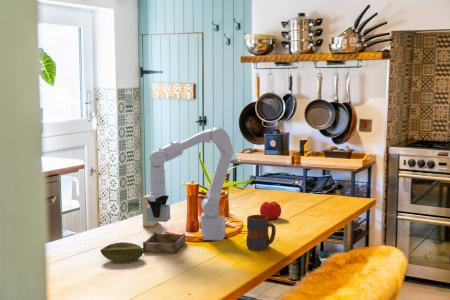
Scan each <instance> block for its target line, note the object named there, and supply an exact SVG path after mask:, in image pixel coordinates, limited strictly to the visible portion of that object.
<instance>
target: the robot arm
mask: <svg viewBox="0 0 450 300" xmlns="http://www.w3.org/2000/svg"><path fill="white" fill-rule="evenodd" d="M202 143H207V144H208V143H209V144H211V143H213V144H215V145H216V147H217V149H218V150H219V155H218V158H217V162H216V164H215V168H214V172H213V174H212V175H213V176H212V178H211V181H210V184H209V189H207V192H206V194H205V196H204V198H203V199H202V200H201V203H200V207H201V209H202V212H201V215H200V224H201V225H200V227H201V229H200V233H201V234H200V236H201V235H202V236H203V237H204V239H202V240H201V241H223V240H224V238H225V237H226V236H225V234H226V218H225V216H221V215H220V213H219V212H220V200H221V194H222V190H223V186H224V183H225V180H226V177H227V174H228V170H229V168H230V164H231V161H232V158H233V154H234V148H233V145H232V141H231V137H230V135H229V134H228V132H227V131H226V129H224V128H222V127H220V126H213V127H211V128H207V129H205V130H202V131H200V132H197V133H196V134H194V135H193V136H191V137H188V138H187V139H185V140H183V141H181V142H180V141H176V140H175V141H170V142H169V144H168V145H167V144H166V145H165V146H163V147H161V146H160V147H158V149H156V150H153V151H151V153H150V154H149V162H150V165H149V166H150V167H149V169H150V170H149V177H150V178H149V179H150V180H149V181H150V191H148V192H147V194H148V195H150V199H149V200H148V203H149V205H150V207H151V209H152V213H153V216H154V218H159V217H160V209H161V205H167V202H168V200H169V195H167V189H166V169H165V163H166V162H170V161H172V160H174V159H176V158H178V157H180V156H182V155H183V153H184V151H185V150H187V149H190V148H192V147H193V146H194V147H195V146H196V145H198V144H202Z"/></svg>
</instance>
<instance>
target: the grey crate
mask: <svg viewBox="0 0 450 300" xmlns="http://www.w3.org/2000/svg"><path fill="white" fill-rule="evenodd" d="M146 214H147V221H156V222H158V223H167V222H169V220H170V219H171V205H170V204H166V205H161V209H160V217H159V218H154V216H153V213H152V209H151V207H150V205H149V206H147V207H146Z"/></svg>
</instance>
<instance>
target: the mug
mask: <svg viewBox="0 0 450 300" xmlns="http://www.w3.org/2000/svg"><path fill="white" fill-rule="evenodd" d="M246 220H247V221H246V229H247V230H246V231H247V235H246V247H247V249H249V250H250V251H251V250H252V251H266V250H268V249H269V247H270V245H271V244H273V242H274V240H275V239H276V238H275V236H276V232H277V230H276V226H275V224H274V223H272V222H269V220H268V217H267V216H265V215H261V214H252V215H251V214H250V215H248V216H247V218H246ZM269 228H271V232H270V233H271V234H269Z"/></svg>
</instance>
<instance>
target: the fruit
mask: <svg viewBox="0 0 450 300" xmlns="http://www.w3.org/2000/svg"><path fill="white" fill-rule="evenodd" d="M143 250H144V249H143V247H141V245H138V244H136V243H132V242H126V241H125V242H122V241H121V242H120V241H119V242H114V243H110V244H108V245H106V246H104V247H103V248H101V249H100V253H101V255H102V256H103V257H104V258H105V259H107V260H109V261H110V262H114V263H116V264H130V263H129V262H131V263H133V262H135V261H137V260H139V259H141V257H142V256H143V254H144V253H145V252H143Z"/></svg>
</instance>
